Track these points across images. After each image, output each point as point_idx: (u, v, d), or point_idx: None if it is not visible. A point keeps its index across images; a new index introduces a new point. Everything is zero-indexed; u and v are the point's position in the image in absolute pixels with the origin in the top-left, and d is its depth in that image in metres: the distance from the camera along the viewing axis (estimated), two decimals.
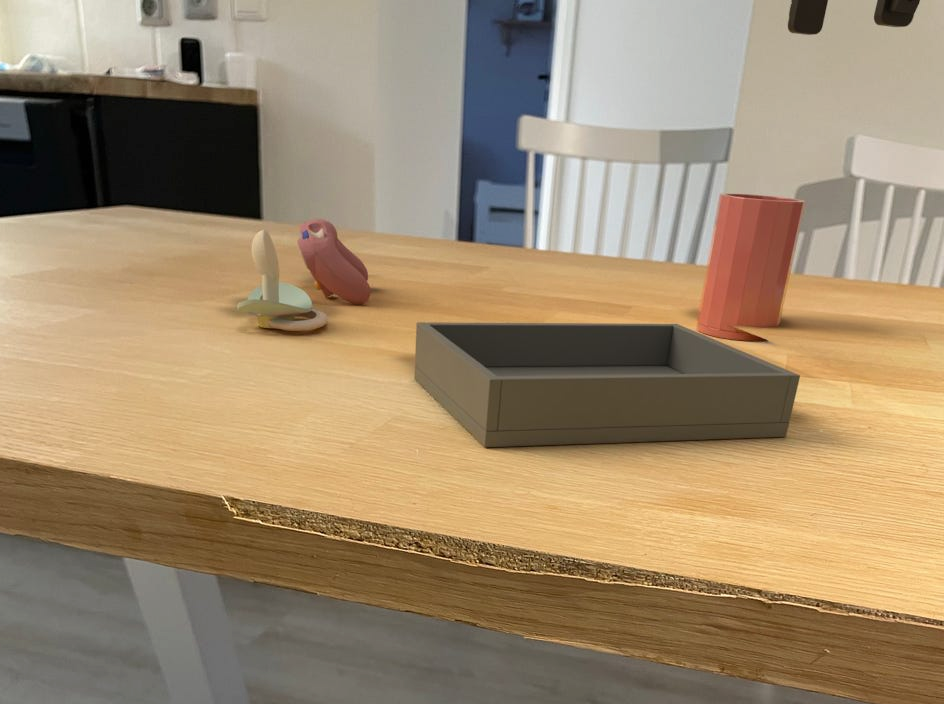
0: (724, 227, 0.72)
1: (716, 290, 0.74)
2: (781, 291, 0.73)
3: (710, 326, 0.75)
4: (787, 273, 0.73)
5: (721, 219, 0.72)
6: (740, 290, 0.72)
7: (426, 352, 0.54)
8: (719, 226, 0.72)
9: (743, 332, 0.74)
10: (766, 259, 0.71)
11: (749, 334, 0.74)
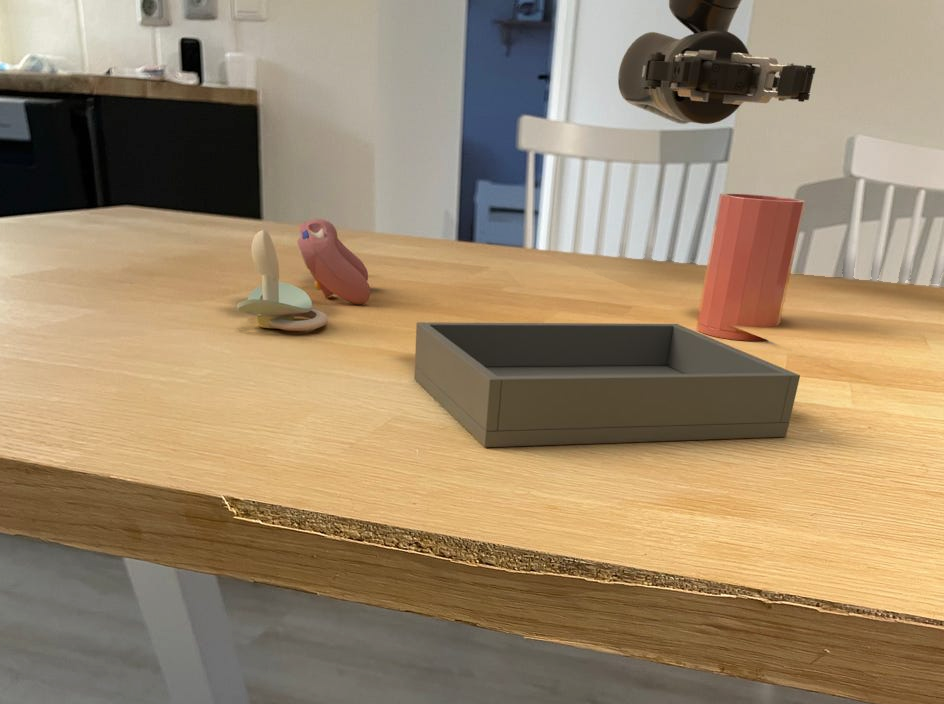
0: (724, 227, 0.72)
1: (716, 290, 0.74)
2: (781, 291, 0.73)
3: (710, 326, 0.75)
4: (787, 273, 0.73)
5: (721, 219, 0.72)
6: (740, 290, 0.72)
7: (426, 352, 0.54)
8: (719, 226, 0.72)
9: (743, 332, 0.74)
10: (766, 259, 0.71)
11: (749, 334, 0.74)
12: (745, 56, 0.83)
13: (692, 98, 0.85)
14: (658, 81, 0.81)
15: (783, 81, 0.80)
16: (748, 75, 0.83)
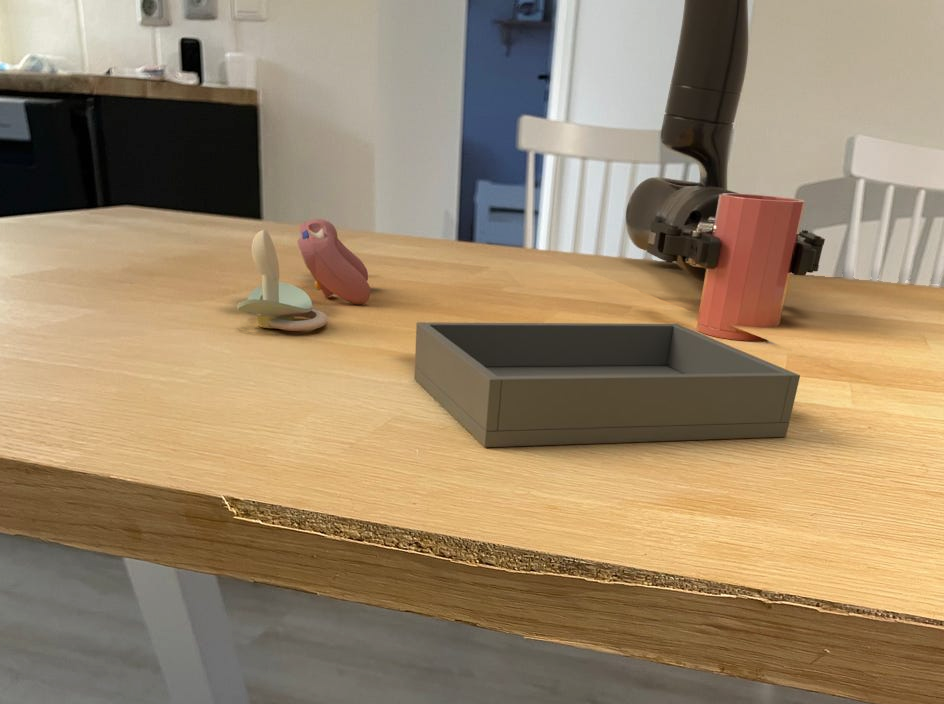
0: (724, 227, 0.72)
1: (716, 290, 0.74)
2: (781, 291, 0.73)
3: (710, 326, 0.75)
4: (787, 273, 0.73)
5: (721, 219, 0.72)
6: (740, 290, 0.72)
7: (426, 352, 0.54)
8: (719, 226, 0.72)
9: (743, 332, 0.74)
10: (766, 259, 0.71)
11: (749, 334, 0.74)
12: None
13: None
14: (674, 255, 0.76)
15: None
16: None
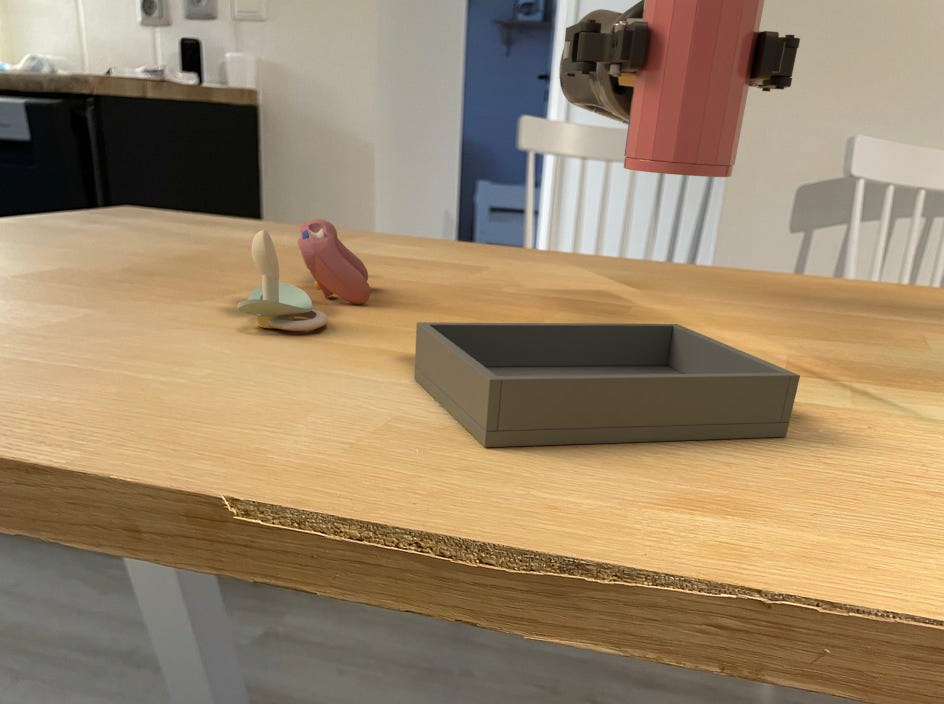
0: (654, 6, 0.51)
1: (645, 103, 0.53)
2: (736, 103, 0.52)
3: (639, 157, 0.54)
4: (745, 76, 0.52)
5: None
6: (678, 99, 0.51)
7: (426, 352, 0.54)
8: (648, 8, 0.51)
9: (683, 162, 0.53)
10: (713, 50, 0.50)
11: (692, 165, 0.53)
12: None
13: None
14: (591, 63, 0.55)
15: None
16: None
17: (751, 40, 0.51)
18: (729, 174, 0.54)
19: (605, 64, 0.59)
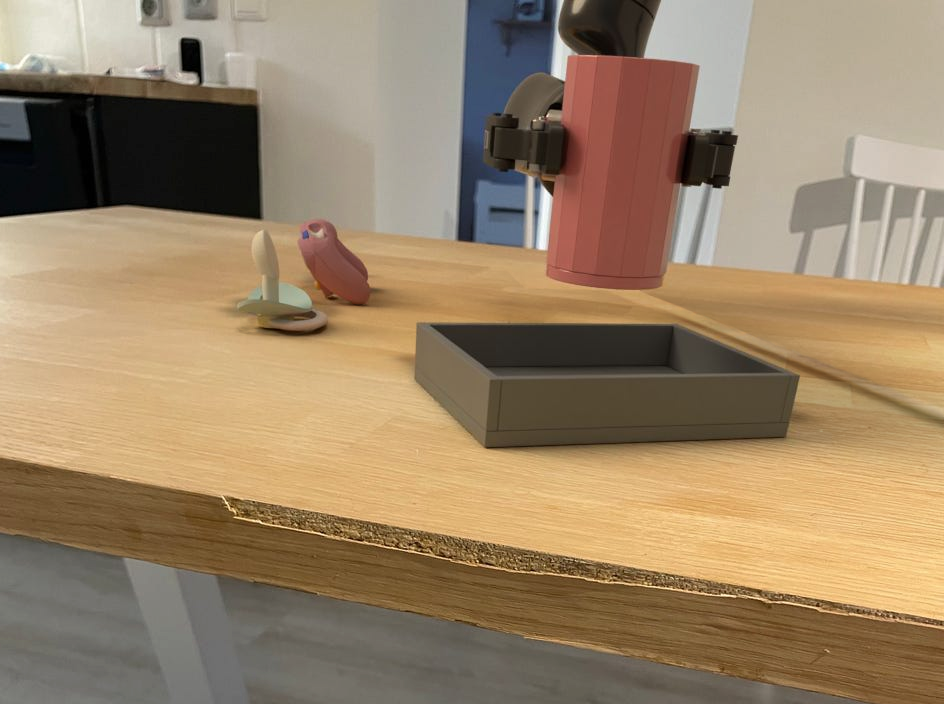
0: (571, 107, 0.46)
1: (565, 210, 0.47)
2: (664, 211, 0.47)
3: (559, 267, 0.49)
4: (673, 182, 0.47)
5: (568, 95, 0.46)
6: (598, 208, 0.46)
7: (426, 352, 0.54)
8: (565, 107, 0.46)
9: (607, 275, 0.48)
10: (636, 157, 0.45)
11: (616, 278, 0.48)
12: None
13: None
14: (509, 160, 0.50)
15: None
16: None
17: (679, 144, 0.46)
18: (659, 285, 0.49)
19: None
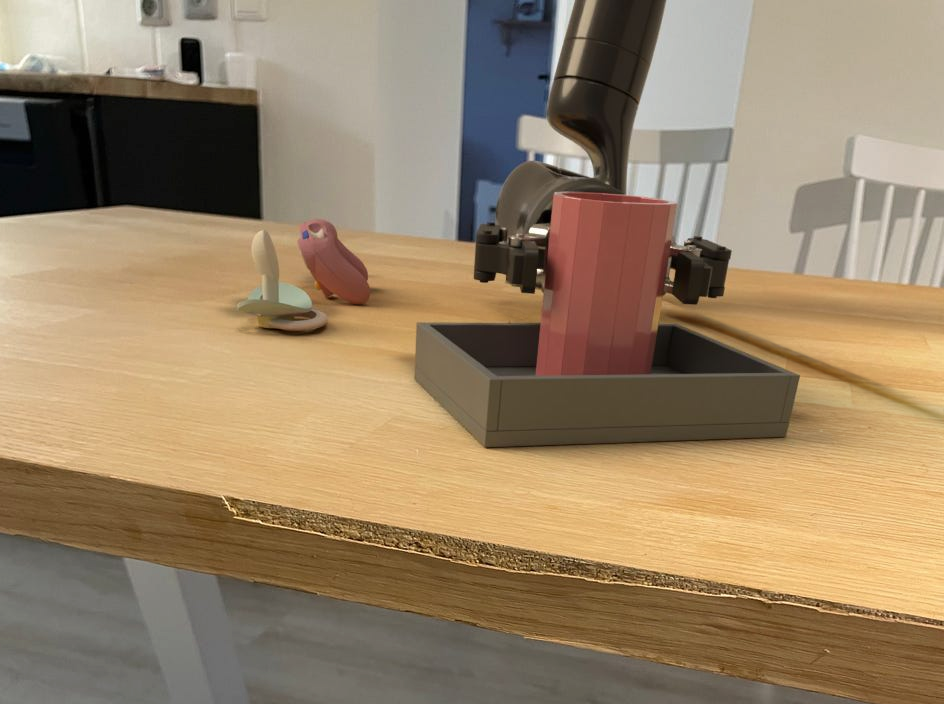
0: (557, 242, 0.48)
1: (552, 334, 0.50)
2: (646, 335, 0.50)
3: None
4: (653, 309, 0.50)
5: (554, 230, 0.49)
6: (583, 334, 0.49)
7: (426, 352, 0.54)
8: (552, 240, 0.49)
9: None
10: (618, 290, 0.48)
11: None
12: None
13: None
14: (488, 273, 0.53)
15: (678, 276, 0.51)
16: None
17: (659, 276, 0.49)
18: None
19: None
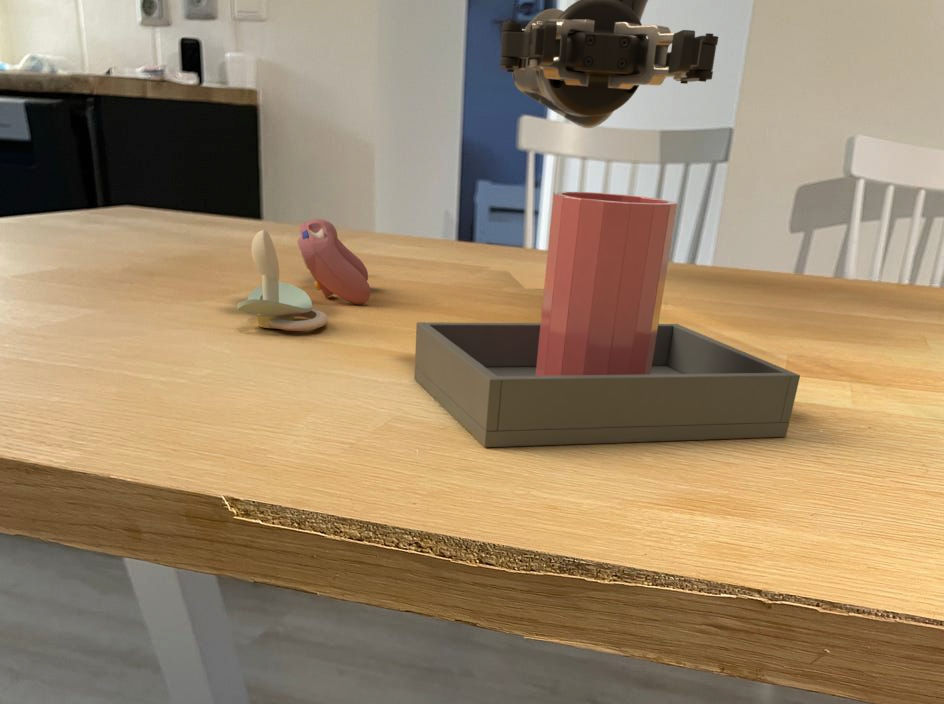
0: (557, 242, 0.48)
1: (552, 334, 0.50)
2: (646, 335, 0.50)
3: None
4: (653, 309, 0.50)
5: (554, 230, 0.49)
6: (583, 334, 0.49)
7: (426, 352, 0.54)
8: (552, 240, 0.49)
9: None
10: (618, 290, 0.48)
11: None
12: (630, 26, 0.64)
13: (567, 82, 0.67)
14: (513, 58, 0.63)
15: (673, 54, 0.61)
16: (634, 49, 0.64)
17: (659, 276, 0.49)
18: None
19: None
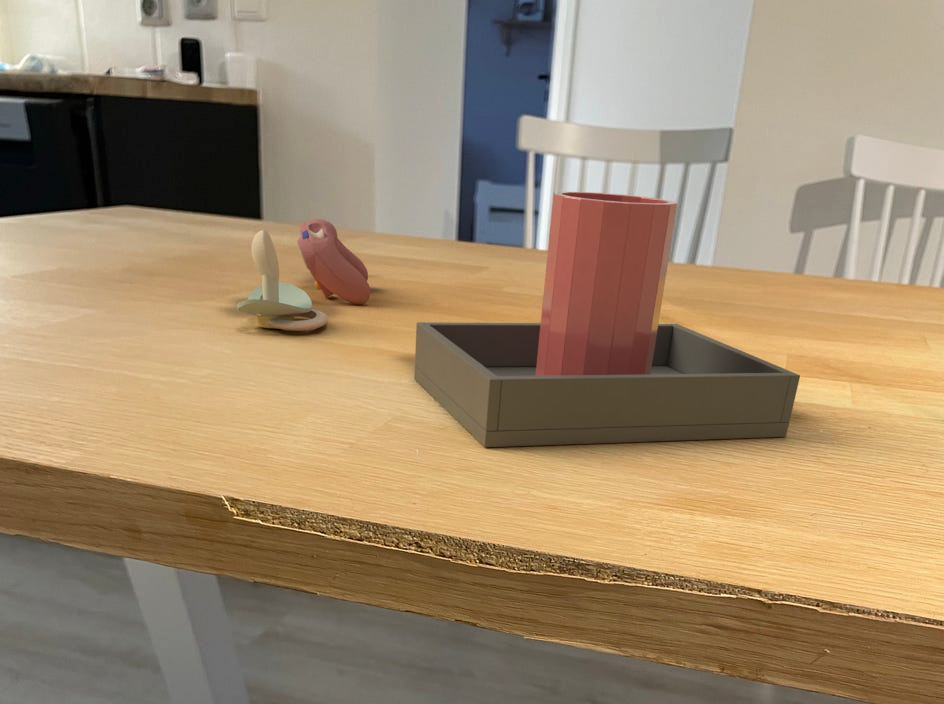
0: (557, 242, 0.48)
1: (552, 334, 0.50)
2: (646, 335, 0.50)
3: None
4: (653, 309, 0.50)
5: (554, 230, 0.49)
6: (583, 334, 0.49)
7: (426, 352, 0.54)
8: (552, 240, 0.49)
9: None
10: (618, 290, 0.48)
11: None
12: None
13: None
14: None
15: None
16: None
17: (659, 276, 0.49)
18: None
19: None
